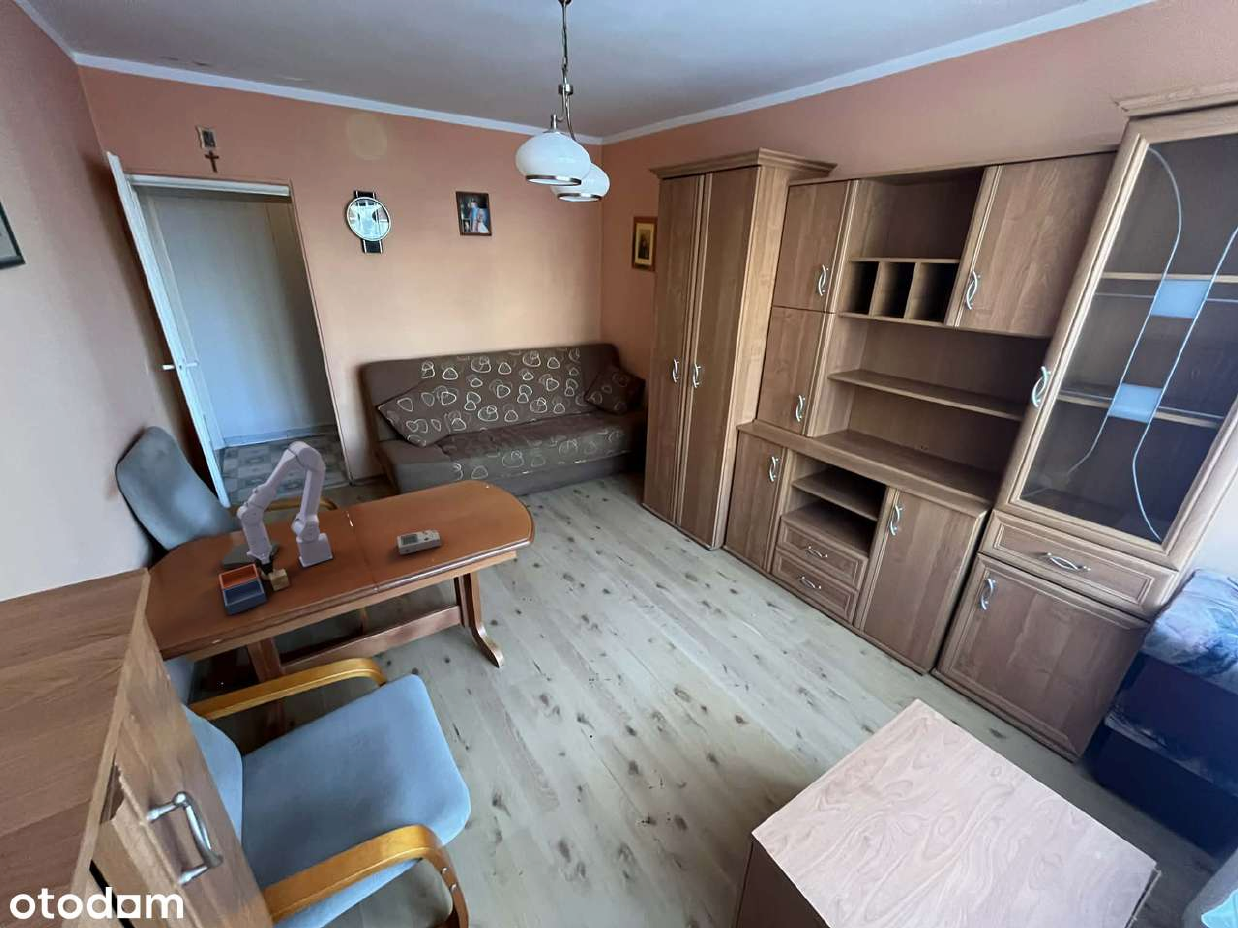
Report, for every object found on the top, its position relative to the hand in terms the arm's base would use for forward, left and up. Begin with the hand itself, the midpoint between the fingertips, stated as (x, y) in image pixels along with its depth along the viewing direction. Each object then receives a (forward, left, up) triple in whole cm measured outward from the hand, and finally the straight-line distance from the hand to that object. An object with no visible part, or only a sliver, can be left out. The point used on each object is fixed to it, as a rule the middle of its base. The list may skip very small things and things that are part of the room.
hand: (268, 571), depth 174 cm
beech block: (-2, +8, -2) cm, 8 cm away
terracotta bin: (+8, -1, -2) cm, 8 cm away
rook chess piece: (0, 0, -2) cm, 2 cm away
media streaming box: (+3, -18, -2) cm, 18 cm away
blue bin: (+8, +10, -2) cm, 13 cm away
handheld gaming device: (-47, +14, -2) cm, 49 cm away
